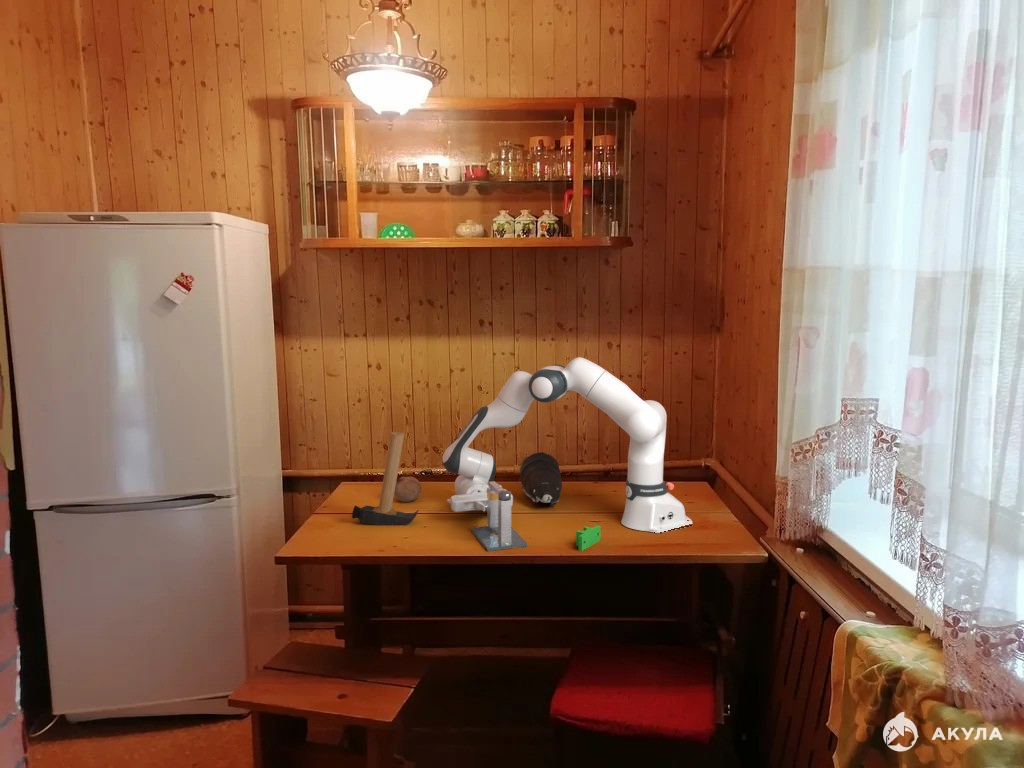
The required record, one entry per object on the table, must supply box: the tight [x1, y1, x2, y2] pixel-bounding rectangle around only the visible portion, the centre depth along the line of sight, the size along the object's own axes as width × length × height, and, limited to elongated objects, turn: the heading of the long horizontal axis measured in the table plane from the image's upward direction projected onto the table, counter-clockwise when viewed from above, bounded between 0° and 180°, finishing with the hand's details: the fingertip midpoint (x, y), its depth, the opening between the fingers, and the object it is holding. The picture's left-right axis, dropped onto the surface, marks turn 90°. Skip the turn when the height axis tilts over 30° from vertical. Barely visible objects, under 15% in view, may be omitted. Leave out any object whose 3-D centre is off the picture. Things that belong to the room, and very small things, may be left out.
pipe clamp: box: [575, 524, 601, 552], centre depth 207 cm, size 11×4×5 cm, turn 145°
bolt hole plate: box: [470, 525, 529, 552], centre depth 211 cm, size 12×18×1 cm, turn 19°
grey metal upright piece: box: [488, 480, 512, 544], centre depth 210 cm, size 4×15×15 cm, turn 19°
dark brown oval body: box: [519, 451, 563, 507], centre depth 247 cm, size 15×15×25 cm
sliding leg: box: [486, 488, 499, 530], centre depth 215 cm, size 3×3×13 cm
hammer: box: [351, 431, 419, 527], centre depth 223 cm, size 20×5×30 cm, turn 89°
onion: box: [394, 476, 422, 503], centre depth 248 cm, size 10×9×10 cm
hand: (488, 508), depth 221 cm, fingers closed
